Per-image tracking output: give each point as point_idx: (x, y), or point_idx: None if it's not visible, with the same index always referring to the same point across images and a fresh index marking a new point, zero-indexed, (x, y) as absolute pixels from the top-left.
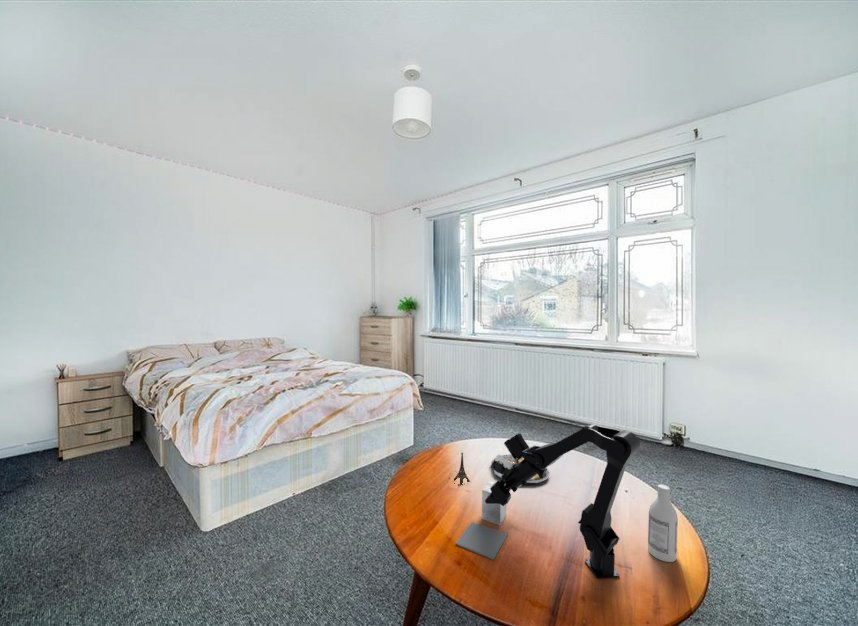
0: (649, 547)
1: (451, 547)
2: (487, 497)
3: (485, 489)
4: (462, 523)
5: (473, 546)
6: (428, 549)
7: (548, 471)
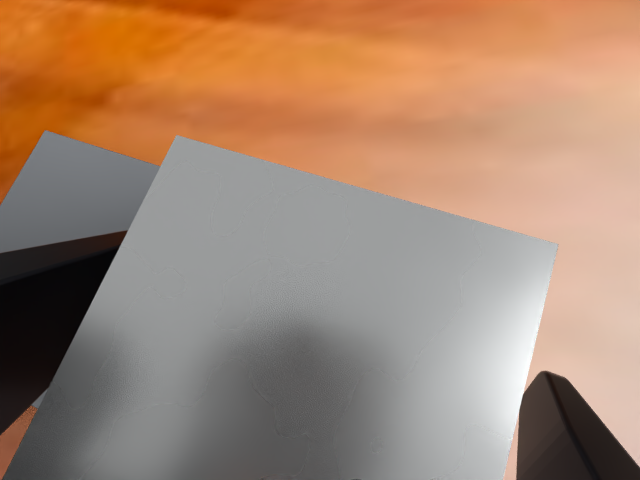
0: None
1: (36, 120)
2: (45, 245)
3: (193, 188)
4: (230, 140)
5: (14, 222)
6: (30, 33)
7: None
